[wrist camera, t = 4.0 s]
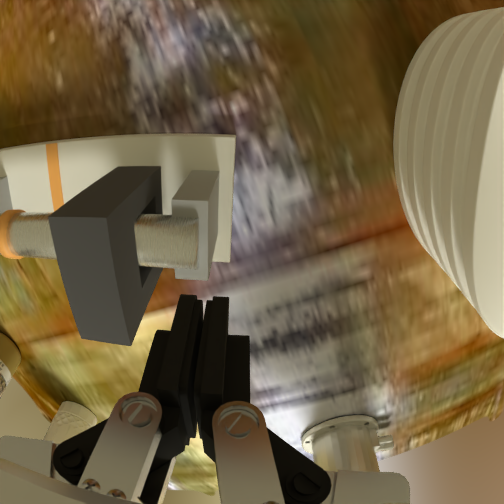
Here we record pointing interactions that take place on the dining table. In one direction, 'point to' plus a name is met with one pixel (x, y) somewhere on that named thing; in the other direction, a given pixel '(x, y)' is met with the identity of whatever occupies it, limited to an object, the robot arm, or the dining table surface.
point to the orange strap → (56, 193)
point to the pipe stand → (136, 154)
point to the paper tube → (7, 361)
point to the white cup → (69, 422)
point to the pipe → (146, 234)
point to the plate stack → (457, 155)
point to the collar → (107, 252)
